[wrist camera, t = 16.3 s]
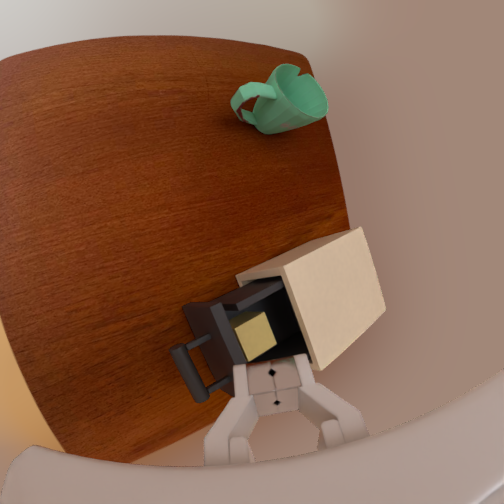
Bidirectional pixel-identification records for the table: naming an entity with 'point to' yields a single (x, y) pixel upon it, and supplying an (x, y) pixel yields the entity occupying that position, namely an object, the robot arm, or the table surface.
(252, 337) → the block
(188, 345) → the drawer
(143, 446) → the table surface
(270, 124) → the mug
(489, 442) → the robot arm
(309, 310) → the beige cabinet housing
